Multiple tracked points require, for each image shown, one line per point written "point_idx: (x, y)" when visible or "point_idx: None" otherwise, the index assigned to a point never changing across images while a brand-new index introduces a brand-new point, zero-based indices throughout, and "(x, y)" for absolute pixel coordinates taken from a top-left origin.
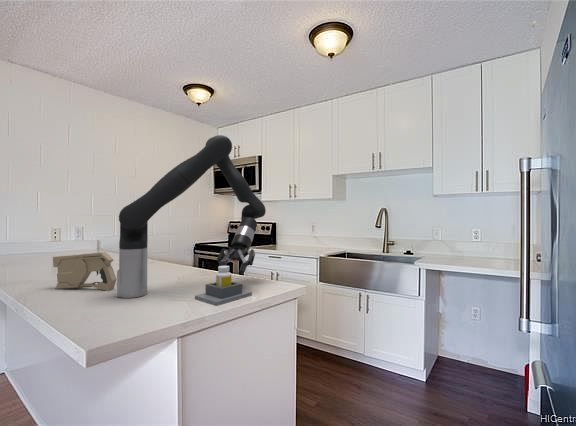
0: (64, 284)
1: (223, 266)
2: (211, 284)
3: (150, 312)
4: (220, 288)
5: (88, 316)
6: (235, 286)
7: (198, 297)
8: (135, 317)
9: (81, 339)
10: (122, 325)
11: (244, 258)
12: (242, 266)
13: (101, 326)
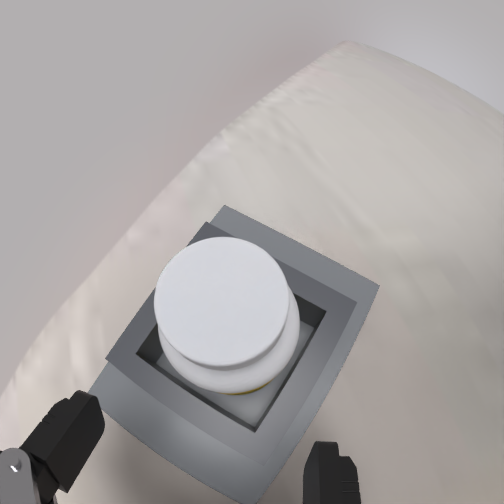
0: None
1: (227, 304)
2: (321, 320)
3: (407, 143)
4: (218, 229)
5: (490, 130)
6: (142, 310)
7: (351, 272)
8: (408, 116)
9: (390, 56)
10: (388, 86)
11: (1, 498)
12: (50, 423)
13: (418, 86)
